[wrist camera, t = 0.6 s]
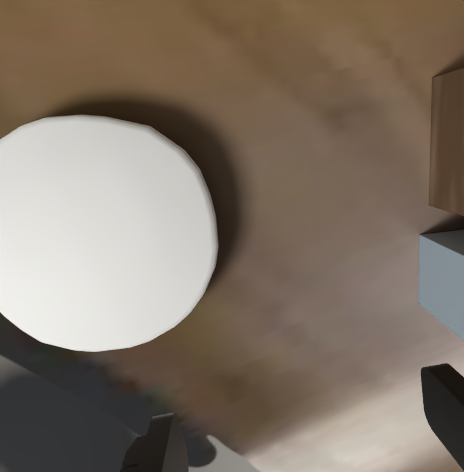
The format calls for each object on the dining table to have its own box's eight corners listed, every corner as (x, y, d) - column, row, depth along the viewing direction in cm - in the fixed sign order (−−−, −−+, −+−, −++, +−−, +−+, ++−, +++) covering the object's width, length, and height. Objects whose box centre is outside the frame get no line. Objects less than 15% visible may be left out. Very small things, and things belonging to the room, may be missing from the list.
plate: (24, 386, 42) (-103, 169, 35) (55, 353, 48) (-49, 163, 42) (251, 325, 37) (151, 61, 31) (252, 297, 43) (170, 73, 37)
